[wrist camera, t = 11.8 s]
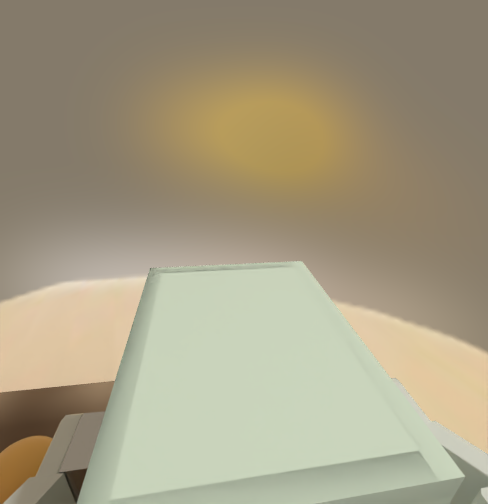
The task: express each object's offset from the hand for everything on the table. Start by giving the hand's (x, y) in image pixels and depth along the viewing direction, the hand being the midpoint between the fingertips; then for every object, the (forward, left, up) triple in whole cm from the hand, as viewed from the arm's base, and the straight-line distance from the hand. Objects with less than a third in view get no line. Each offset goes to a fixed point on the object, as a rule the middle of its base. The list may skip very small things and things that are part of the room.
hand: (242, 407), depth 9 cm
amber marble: (-9, +2, -7) cm, 12 cm away
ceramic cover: (0, 0, -7) cm, 7 cm away
